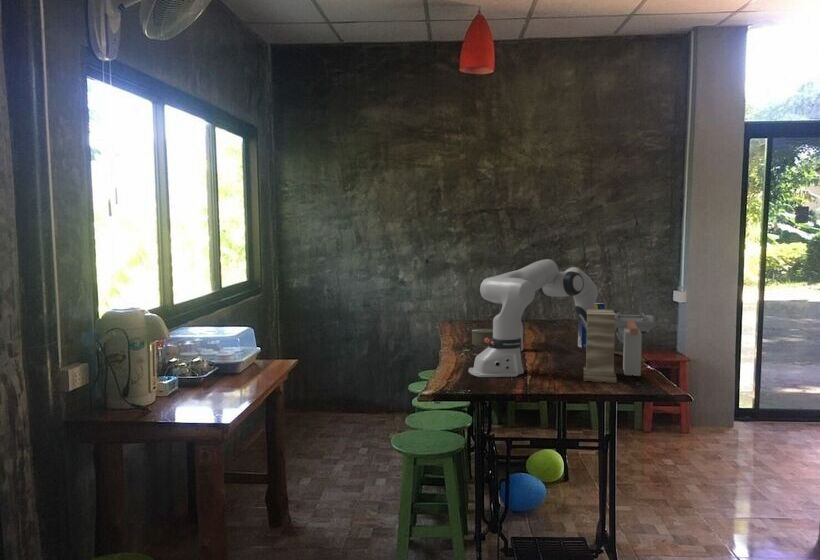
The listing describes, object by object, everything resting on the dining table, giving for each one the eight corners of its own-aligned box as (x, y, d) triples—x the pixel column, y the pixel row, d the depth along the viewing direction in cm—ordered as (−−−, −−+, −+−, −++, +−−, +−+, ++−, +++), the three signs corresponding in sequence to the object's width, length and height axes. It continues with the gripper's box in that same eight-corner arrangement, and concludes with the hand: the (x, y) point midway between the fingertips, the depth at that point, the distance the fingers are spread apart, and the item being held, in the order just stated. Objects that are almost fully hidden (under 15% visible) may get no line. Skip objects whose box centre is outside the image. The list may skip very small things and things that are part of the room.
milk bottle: (522, 352, 303) (523, 310, 301) (506, 351, 304) (506, 310, 303) (523, 349, 310) (523, 308, 309) (507, 348, 312) (507, 308, 310)
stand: (616, 383, 242) (617, 315, 239) (583, 381, 245) (584, 314, 243) (613, 372, 259) (615, 309, 257) (583, 371, 262) (584, 308, 260)
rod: (637, 335, 249) (638, 328, 248) (631, 334, 249) (631, 328, 249) (632, 325, 273) (633, 319, 273) (626, 325, 273) (626, 319, 273)
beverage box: (603, 348, 312) (604, 303, 310) (581, 348, 312) (582, 303, 310) (599, 345, 319) (600, 302, 317) (577, 345, 319) (578, 302, 317)
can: (494, 346, 320) (494, 332, 319) (470, 345, 322) (470, 331, 321) (495, 341, 332) (495, 328, 331) (472, 341, 334) (472, 328, 333)
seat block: (640, 375, 253) (641, 333, 252) (624, 375, 255) (625, 333, 254) (638, 369, 265) (639, 329, 264) (622, 368, 266) (623, 328, 265)
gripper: (604, 318, 292) (605, 306, 279) (651, 319, 286) (654, 308, 274) (604, 331, 289) (605, 320, 277) (652, 332, 284) (655, 321, 271)
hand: (630, 314), depth 275 cm, fingers open, 8 cm apart
